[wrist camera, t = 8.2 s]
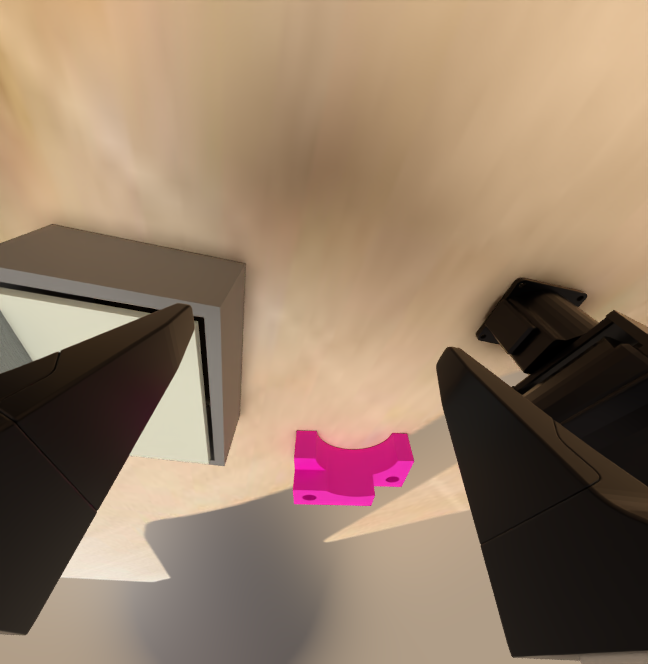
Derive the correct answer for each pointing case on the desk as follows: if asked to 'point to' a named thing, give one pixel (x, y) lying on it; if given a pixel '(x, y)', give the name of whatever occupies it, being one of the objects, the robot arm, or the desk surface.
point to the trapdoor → (89, 321)
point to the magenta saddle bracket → (347, 470)
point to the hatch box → (144, 297)
